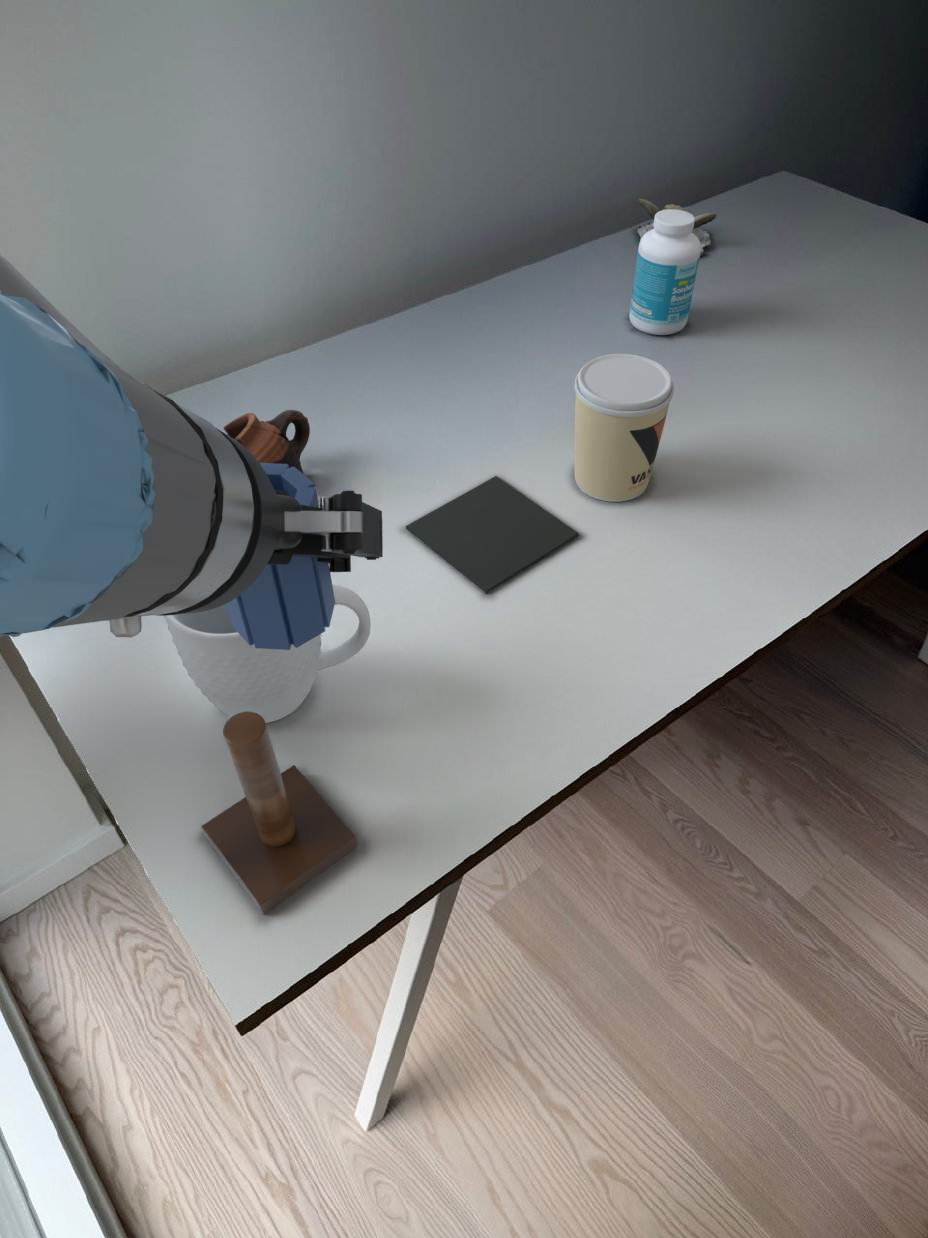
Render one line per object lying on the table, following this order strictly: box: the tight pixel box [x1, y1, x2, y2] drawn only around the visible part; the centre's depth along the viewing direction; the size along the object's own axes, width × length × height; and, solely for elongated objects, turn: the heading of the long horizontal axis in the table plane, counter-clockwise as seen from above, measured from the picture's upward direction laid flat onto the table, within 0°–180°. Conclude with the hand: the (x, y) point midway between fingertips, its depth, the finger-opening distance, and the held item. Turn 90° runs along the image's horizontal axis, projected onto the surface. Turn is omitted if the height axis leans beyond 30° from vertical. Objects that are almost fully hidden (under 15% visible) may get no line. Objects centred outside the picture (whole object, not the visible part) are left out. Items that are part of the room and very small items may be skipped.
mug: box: [163, 583, 372, 724], centre depth 70 cm, size 15×11×13 cm
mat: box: [405, 475, 579, 594], centre depth 87 cm, size 12×12×1 cm
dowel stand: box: [200, 711, 358, 916], centre depth 60 cm, size 8×8×14 cm
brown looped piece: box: [223, 409, 311, 475], centre depth 92 cm, size 12×10×8 cm
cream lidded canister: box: [574, 353, 675, 503], centre depth 89 cm, size 9×9×12 cm
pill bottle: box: [628, 209, 701, 336], centre depth 110 cm, size 8×7×14 cm
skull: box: [636, 198, 718, 257], centre depth 128 cm, size 12×10×9 cm
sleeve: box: [226, 463, 336, 650], centre depth 51 cm, size 6×6×9 cm
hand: (285, 543), depth 55 cm, fingers closed on sleeve, 6 cm apart
